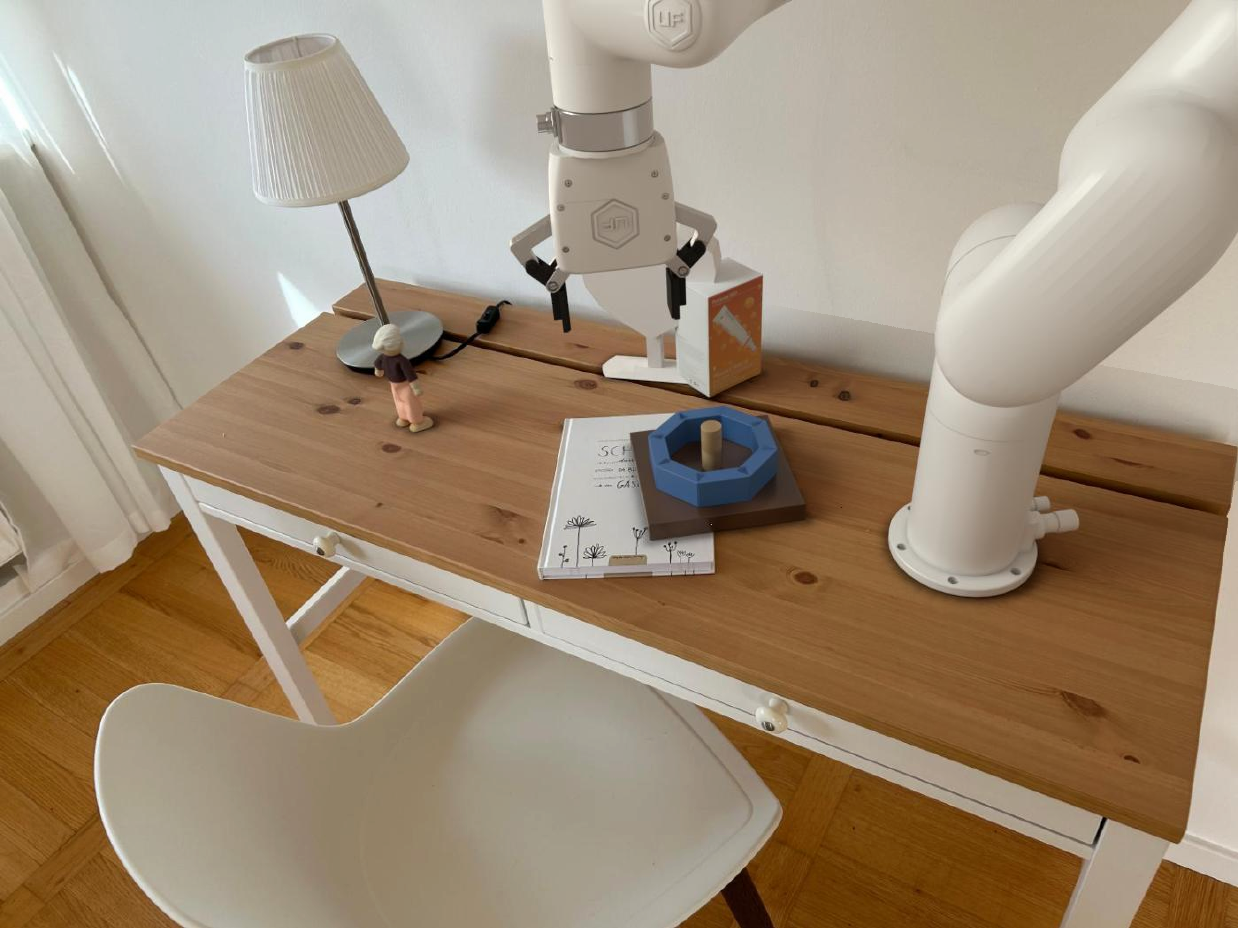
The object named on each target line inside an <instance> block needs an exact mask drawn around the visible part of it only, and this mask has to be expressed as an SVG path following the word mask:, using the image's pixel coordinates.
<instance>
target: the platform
mask: <svg viewBox="0 0 1238 928" xmlns="http://www.w3.org/2000/svg"><path fill="white" fill-rule="evenodd" d="M753 416H754V417H757V418H760V419H763V420H765V421H766V423H767V425H768V428H769V430H770V432H771V435H772V437H773V440H774V442H775V444H776V447H777V473H776V474H775V475H774V476H773V477H772V479H771V480H770V481H769V482H768V483H767V484H766V485H765V486H764V487H763V488H762V489H761V490H760V491H759V492H758V493H757V494H756V495H755V496H754V497H753V498H752V499H751V500H749V501H744V502H736V503H729V504H721V505H714V506H707V507H697V506H694V505H692V504H690V503H687V502H685V501H683V500H681V499H678V498H676V497H674V496H671V495H669V494H667V493H665V492H662V491H660V490H658V489H657V488H656V484H655V479H654V475H653V470H652V466H651V462H650V453H649V440H648V436H649V435H650V434H651V433H652V432H653V431H655V430H656V429H657V428H655V429H649V430H647V429H646V430H640V431H633V432H629V440H630V441H629V442H630V449H631V454H632V459H633V466H634V469H635V475H636V478H637V484H638V489H639V494H640V499H641V503H642V509H643V514H644V519H645V524H646V528H647V533H648V537H649V541H650V542H651V541H656V540H657V541H658V540H664V539H671V538H680V537H685V536H686V537H687V536H694V535H701V534H709V533H716V532H723V531H731V530H739V529H744V528H753V527H760V526H767V525H775V524H782V523H789V522H797V521H803V520H805V519H806V506H807V505H806V502H805V499H804V497H803V494H802V493H801V492H802V491H801V490H800V488H799V485H798V483H797V481H796V478H795V476H794V473H793V471H792V469H791V467H790V464H789V461H788V459H787V457H786V455H785V453H784V450H783V447H782V445H781V443H780V441H779V438H778V435H777V433H776V431H775V428H774V427H773V424H772V422H771V420H770V417H769V415H768V414H763V415H762V414H761V415H753ZM752 455H753V453H752V450H751V449H749V448H747V447H744V446H742V445H739V444H736V443H734V442H731V441H729V440H726V439H723V438H722V425H721V423H720V422H718V421H715V420H708V421H705V422H703V423H702V425H701V441H693V442H687V443H685V444H684V445H683V446H682V447H681V448H680V449H679V450H678V451H676V452H675V453H674V454H673V455H672V456H671V457H670V460H672V461H675V462H677V463H679V464H682V465H684V466H687V467H689V468H692V469H694V470H696V471H699V472H708V471H716V470H723V469H730V468H738V467H740V466H741V465H743V464H744V463H745V462H746V461H747V460H748V459H749V458H750V457H751V456H752ZM711 524H712V525H711Z"/></svg>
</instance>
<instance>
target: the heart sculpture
mask: <svg viewBox="0 0 1238 928" xmlns="http://www.w3.org/2000/svg"><path fill="white" fill-rule="evenodd" d="M676 227H677V248H678V249H681V248H682V247H683V246H684V245H685V244H686V243H687V242H688V241H689V240H690V238H692V237H693V235H694V232H695V229H694V228H691V227H688V226H686V225H683V224H680V223H676ZM722 259H723V257H722V250H721V247H720V242H719V239H718V238H717V237H715V235H713V236H712V238H711V240H710V242H709V244H708V245H707V247H706V252H705V254H704V255H703V256H702V257H701V258H700V259H699V260H698V261H697V262H696V263H695V265H694V266H693V267H692V268H691V269H690V273H689V275H688V276H687V277H686V282H700V283H714V282H715V279H716V277H717V274H718V272H719V269H720V264H721V260H722ZM666 267H668V266H667V265H666V264H661V265H657V266H650V267H643V268H635V269H626V270H618V271H609V272H600V273H590V274H581V277H582V281H583V284H584V287H585V289H587V290H586V291H588V292H589V294H590V295H591V296H592V298H593V299H594V300H595V302H596V303H597V304H598V306H599V307H601V308H602V309H604V310H605V311H606V312H607V313H608V314H609V315H611V316H612V317H613V318H615V319H616V320H617V321H619V322H620V323H622V324H624V325H625V326H627V327H629V328H631V329H632V330H634V331H636V332H637V333H639V334H641V335H642V336H644V337H645V343H646V344H645V345H646V346H645V347H646V357H645V356H644V357H643V356H633V355H632V356H631V355H617V354H616V355H614V356H613V357H611V358H610V359H608V360H607V361H606V362H605V363H604V364H603V365H602V372H603V375H604V377H605V378H613V379H625V380H636V381H637V380H639V381H650V382H660V383H661V382H663V383H674V384H686V385H689V384H688V383H687V382H686V381H685V380H684V379H683V378H682V377H681V376H680V375H678V373H677V360H676V359H673V358H671V359H670V358H665V357H666V356H665V344H664V334H665V333H667V332H668V331H671V330H673V329H675V327H677V326H679V320H674V319H672V318H671V314H670V311H669V308H668V305H667V288H666Z"/></svg>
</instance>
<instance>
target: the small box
mask: <svg viewBox="0 0 1238 928" xmlns="http://www.w3.org/2000/svg"><path fill="white" fill-rule="evenodd" d="M763 293H764V274H763V273H761V272H758V271H756V270H755V269H752V268H750V267H748V266H746V265H745V264H742V263H741V262H738V261H737V260H734V259H732V258H730V257H724V258H721V264H720V269H719V272H718V274H717V277H716V279H715V282H714V283H700V282H686V305H684V306H680V319H679V326H677V327H675V328H674V334H675V335H674V336H675V358H676V359H675V360H677V373H678V375H680V376H681V377H682V378H683V379H684V380H685V381H686V382H687V383H688V384H687V385H689V386H690V387H692V388H693V389H695V390H697V391H698V392H700V393H701V394H703V395H705V396H706V397H707V398H713V397H714V396H716V395H718V394H720V393H722V392H724V391H726V390H728V389H731V388H732V387H734V386H737V385H739V384H740V383H742V382H744V381H745V382H746V381H747V380H749V379H751V378H753V377H756V376H758V375H760V374H761V371H762V370H761V369H762V332H763V331H762V329H763V300H764V299H763V295H764V294H763Z"/></svg>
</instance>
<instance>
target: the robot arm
mask: <svg viewBox="0 0 1238 928" xmlns="http://www.w3.org/2000/svg"><path fill="white" fill-rule="evenodd" d="M791 1H792V0H541V3H542V4H541V5H542V13H543V20H544V28H545V29H544V30H545V39H546V48H547V57H548V58H547V59H548V65H549V75H550V84H551V92H552V103H553V107H550V111H546V112H545V113H542V114H536V115H535V116H536V125H537V133H538V134H543V133H547V134H548V135H552V134H553V138H556V139H554V140H553V141H552V142H551V144H550V148H549V155H548V171H547V172H548V205H549V214H547V215H545V216H544V217H542V218H541V219H539V220H538V221H536V222H534V223H533V224H531V225H530V226H528V227H526V228H525V229H524V230H522V231H520V232H519V233H518V234H516V235H514V236H513V237H512V238H511V239H510V240H509V247H510V249H509V250H510V252H511V253H512V255H513V256H514V258H516V260H517V261H518V263H519V264H520V265H521V266H522V267H523V269H525V272H526V274H527V275H528V276H530V277H531V278H533V279H534V280H535V281H537V282H538V283H540V284H541V285H542V286H544V287H545V289H546V291H547V292H548V293H549V294H550V301H551V308H552V316H553V321H555V322H556V321H561V322H562V324H561V325H562V332H563V334H569V333H570V332H571V331H572V325H571V323H572V322H571V315H570V307H569V298H568V291H567V283H566V282H567V280H568V279H569V277H570V275H582V274H590V273H600V272H609V271H618V270H626V269H635V268H643V267H650V266H657V265H661V264H666V265H667V266H668V267H666V288H667V305H668V308H669V311H670V314H671V318H672V319H674V320H679V319H680V306H684V305H686V277H687V276H688V275H689V273H690V269H691V268H692V267H693V266H694V265H695V263H696V262H697V261H698V260H699V259H700V258H701V257H702V256H703V255H704V254H705V252H706V247H707V245H708V244H709V242H710V240H711V238H712V236H714V234H715V232H716V231H717V228H718V222H717V221H716V219H715V217H714V215H711V214H709V213H707V212H704V211H701V210H699V209H697V208H694V207H691V206H689V205H686V204H683V203H680V202H678V201H676V200H675V193H674V184H673V176H672V168H671V164H670V158H669V152H668V149H667V144H666V141H665V138H664V136H663V135H662V134H661V133H660V132H659V131H658V130H656V129H655V124H654V106H653V86H652V85H653V84H652V65H655V66H660V67H665V68H669V69H670V68H671V69H680V70H683V69H694V68H698V67H702V66H705V65H707V64H709V63H710V62H712V61H714V60H715V59H717V58H719V57H720V55H721V54H723V53H724V52H725V51H726V50H727V49H728V48H729V47H730V46H731V45H732V44H733V43H734V42H735V41H736V40H737V39H738V38H739V37H740V36H741V35H742V34H743V33H744V32H745V31H746V30H747V29H748V28H749V27H751V26H752V25H753V24H754V23H756V22H757V21H759V20H760V19H761V18H763V17H765V16H767V15H768V14H770V13H772V12H774V11H775V10H777V9H778V8H780V7H782V6H784V5H786V4H787V3H790V2H791ZM1057 177H1058V178H1057V190H1056V192H1055V193H1054V195H1053V196H1052V197H1051V198H1050V199H1049V200H1048V201H1047V203H1046V204H1044V203H1042V202H1034V201H1017V202H1010V203H1007V204H1002V205H1000V206H998V207H995V208H993V209H991V210H989V211H987V212H985V213H984V214H982V215H981V216H979V217H978V218H977V219H975V221H973V222H972V223H971V224H970V225H969V227H968V228H966V229H965V231H964V232H963V233H962V234H961V236H960V237H959V239H958V240H957V242H956V244H955V246H954V248H953V250H952V252H951V255H950V257H949V261H948V265H947V268H946V272H945V277H944V282H943V286H942V289H941V296H940V297H941V299H940V303H939V307H938V312H937V316H936V321H935V328H934V338H933V339H934V340H933V341H934V351H935V353H934V359H933V365H932V371H931V375H930V376H931V377H930V383H929V388H928V389H929V391H928V396H927V400H926V407H925V411H924V412H925V413H924V417H923V425H922V431H921V438H920V444H919V451H918V455H917V456H918V457H917V463H916V468H915V469H916V470H915V476H914V482H913V487H912V488H913V489H912V495H911V501H910V502H909V503H906V504H905V505H903V506H902V507H901V508H900V509H899V510H897V512H896V513H895V514H894V516H893V517H892V520H891V521H890V524H889V527H888V535H887V542H888V549H889V551H890V554H891V555H892V556H891V557H892V558H893V560H894V561H895V562H896V563H897V565H898V566H899V567H900V569H902V570H903V571H904V573H906V574H907V575H908V576H910V577H911V578H912V579H914V580H916V581H917V582H919V583H920V584H922V585H925V586H926V587H928V588H930V589H933V590H935V591H938V592H942V593H945V594H948V595H954V596H959V597H967V598H968V597H969V598H985V597H994V596H998V595H1002V594H1006V593H1009V592H1010V591H1013V590H1016V589H1017V588H1018V587H1020V586H1021V585H1022V584H1024V583H1025V582H1027V580H1028V579H1029V578H1030V577H1031V576H1032V574H1033V571H1034V569H1035V566H1036V562H1037V558H1038V545H1037V541H1036V540H1041V539H1043V538H1044V537H1045V534H1049V533H1050V534H1051V533H1055V534H1060V533H1068V532H1075V531H1077V530H1079V526H1080V519H1079V515H1078V513H1077V511H1076V510H1075V509H1074V508H1068V509H1063V510H1062V509H1061V510H1055V511H1050V512H1049V513H1041V512H1048V511H1049V510H1050V509H1051V502H1050V499H1049V497H1048V496H1046V495H1042V496H1035V497H1034V495H1035V491H1036V487H1037V483H1038V480H1039V476H1040V472H1041V469H1042V465H1043V460H1044V457H1045V453H1046V449H1047V445H1048V441H1049V437H1050V433H1051V430H1052V427H1053V423H1054V421H1055V419H1056V414H1057V412H1058V411H1057V410H1058V407H1059V404H1060V400H1061V399H1060V398H1061V395H1062V391H1064V390H1066V389H1068V388H1069V387H1071V386H1073V385H1074V384H1075V383H1076V382H1078V381H1079V380H1081V379H1082V378H1083V377H1085V376H1086V375H1087V374H1089V372H1091V371H1092V370H1093V369H1094V368H1096V367H1097V366H1098V365H1100V364H1101V363H1102V362H1103V361H1105V360H1106V359H1107V358H1108V357H1109V356H1111V355H1112V354H1113V353H1114V352H1115V351H1117V350H1118V349H1120V348H1121V347H1122V346H1123V345H1124V344H1126V343H1127V342H1128V341H1129V340H1131V339H1132V338H1133V337H1134V336H1136V335H1137V334H1138V333H1139V332H1140V331H1142V330H1143V329H1144V328H1145V327H1147V326H1148V325H1149V324H1150V323H1151V322H1152V321H1154V320H1156V318H1157V317H1158V316H1159V315H1161V314H1162V313H1164V312H1165V311H1166V310H1167V309H1168V308H1170V307H1171V306H1172V305H1173V304H1175V302H1177V301H1178V300H1179V299H1180V298H1181V297H1183V296H1184V295H1185V294H1186V293H1187V292H1189V291H1190V290H1191V289H1193V287H1194V286H1195V285H1197V284H1198V283H1199V282H1200V281H1201V280H1202V279H1203V278H1204V277H1205V276H1206V275H1207V274H1208V273H1209V272H1210V271H1211V270H1212V269H1213V268H1214V267H1215V266H1216V264H1217V263H1218V262H1219V261H1220V259H1221V258H1222V257H1223V255H1224V254H1225V253H1226V251H1227V250H1228V249H1229V247H1230V246H1231V244H1232V243H1233V241H1234V239H1235V238H1236V237H1237V234H1238V0H1191V1H1190V2H1189V3H1188V5H1187V6H1186V7H1185V8H1184V10H1183V11H1182V12H1181V13H1180V14H1179V15H1178V16H1177V17H1176V18H1175V20H1174V21H1172V23H1171V24H1169V26H1168V27H1167V28H1166V29H1165V30H1164V32H1162V33H1161V35H1160V36H1159V37H1158V38H1157V39H1156V40H1155V41H1154V42H1153V43H1152V44H1151V45H1150V46H1149V47H1148V48H1147V49H1146V50H1145V51H1144V52H1143V54H1141V56H1140V57H1139V58H1138V59H1137V60H1136V61H1135V62H1134V64H1132V65H1131V67H1130V68H1128V69H1127V70H1126V71H1125V73H1124V74H1123V75H1122V76H1121V77H1120V78H1119V79H1118V80H1117V81H1116V82H1115V83H1114V84H1113V85H1112V86H1111V87H1110V88H1109V89H1108V90H1107V91H1106V92H1105V93H1104V94H1103V95H1102V96H1101V97H1100V98H1099V99H1098V100H1097V101H1096V102H1095V103H1094V104H1093V105H1092V106H1091V107H1090V108H1089V109H1088V110H1087V111H1086V112H1085V113H1084V115H1082V117H1080V119H1079V120H1078V121H1077V123H1076V124H1075V125H1074V127H1073V128H1072V129H1071V131H1070V132H1069V134H1068V136H1067V138H1066V141H1065V142H1064V145H1063V147H1062V151H1061V154H1060V161H1059V168H1058V175H1057ZM676 224H683V225H686V226H688V227H691V228H694V229H695V232H694V235H693V237H692V238H690V240H689V241H688V242H687V243H686V244H685V245H684V246H683V247H682V248H681V249H678V248H677V227H676ZM549 238H552V246H553V251H554V252H553V253H554V255H553V256H554V257H552V259H551V260H550V261H549V263H547V262H546V261H545V260H543V259H542V258H541V257H539V256H538V255H536V254H535V253H534V251H533V250H532V249H534V248H535V247H536V246H538V245H539V244H541V243H542V242H544V241H546V240H547V239H549Z"/></svg>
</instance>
